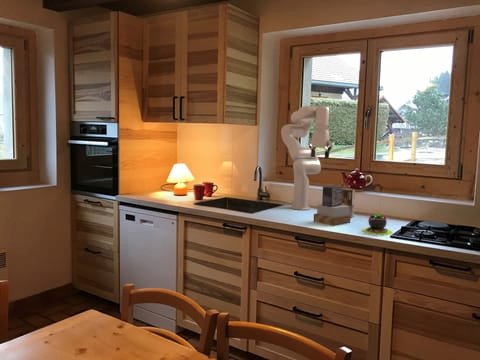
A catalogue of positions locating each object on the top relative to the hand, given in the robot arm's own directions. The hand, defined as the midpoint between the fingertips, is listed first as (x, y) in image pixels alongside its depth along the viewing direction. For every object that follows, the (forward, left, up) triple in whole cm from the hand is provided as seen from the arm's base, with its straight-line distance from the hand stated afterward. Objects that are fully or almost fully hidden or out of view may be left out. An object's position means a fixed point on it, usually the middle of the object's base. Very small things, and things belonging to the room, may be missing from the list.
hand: (319, 157), depth 258 cm
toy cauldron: (+46, -12, -34) cm, 58 cm away
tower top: (+18, -11, -30) cm, 37 cm away
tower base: (+18, -11, -35) cm, 41 cm away
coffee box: (+13, +10, -34) cm, 38 cm away
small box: (+18, -11, -25) cm, 33 cm away
